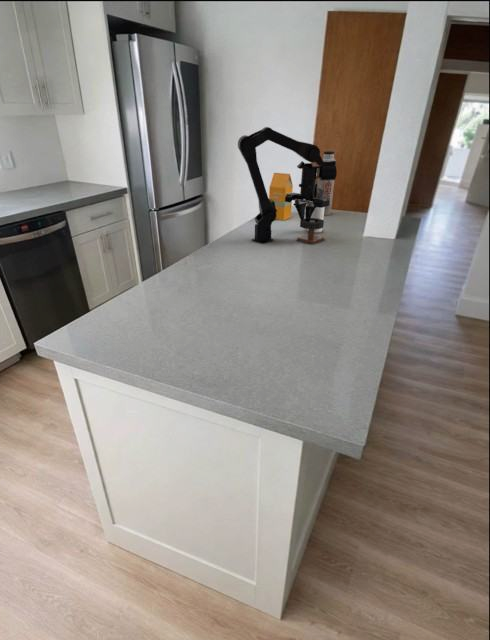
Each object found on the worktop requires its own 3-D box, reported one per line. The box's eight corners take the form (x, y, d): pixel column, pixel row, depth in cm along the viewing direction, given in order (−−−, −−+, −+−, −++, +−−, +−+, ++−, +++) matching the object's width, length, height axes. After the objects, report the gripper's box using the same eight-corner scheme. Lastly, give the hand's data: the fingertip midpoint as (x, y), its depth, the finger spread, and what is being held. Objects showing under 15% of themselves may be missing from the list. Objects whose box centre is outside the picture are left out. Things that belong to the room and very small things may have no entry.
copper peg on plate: (296, 240, 177) (298, 221, 173) (308, 236, 182) (310, 218, 177) (312, 244, 172) (314, 224, 168) (323, 240, 177) (326, 221, 173)
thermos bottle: (330, 215, 213) (338, 152, 197) (314, 215, 214) (320, 152, 198) (330, 212, 220) (337, 150, 204) (314, 211, 221) (320, 150, 205)
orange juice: (283, 220, 206) (286, 175, 195) (268, 218, 210) (269, 173, 199) (290, 217, 212) (293, 172, 200) (275, 215, 216) (277, 171, 204)
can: (311, 228, 193) (314, 200, 186) (324, 230, 189) (327, 202, 183) (304, 231, 188) (307, 203, 181) (318, 234, 185) (321, 204, 178)
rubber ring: (295, 226, 174) (295, 220, 173) (309, 222, 179) (310, 216, 178) (313, 230, 168) (314, 224, 167) (328, 226, 174) (328, 220, 173)
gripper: (340, 180, 165) (334, 222, 174) (302, 176, 177) (299, 215, 186) (323, 184, 159) (318, 227, 168) (285, 179, 170) (282, 220, 179)
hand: (304, 222), depth 175 cm, fingers closed on rubber ring, 2 cm apart
